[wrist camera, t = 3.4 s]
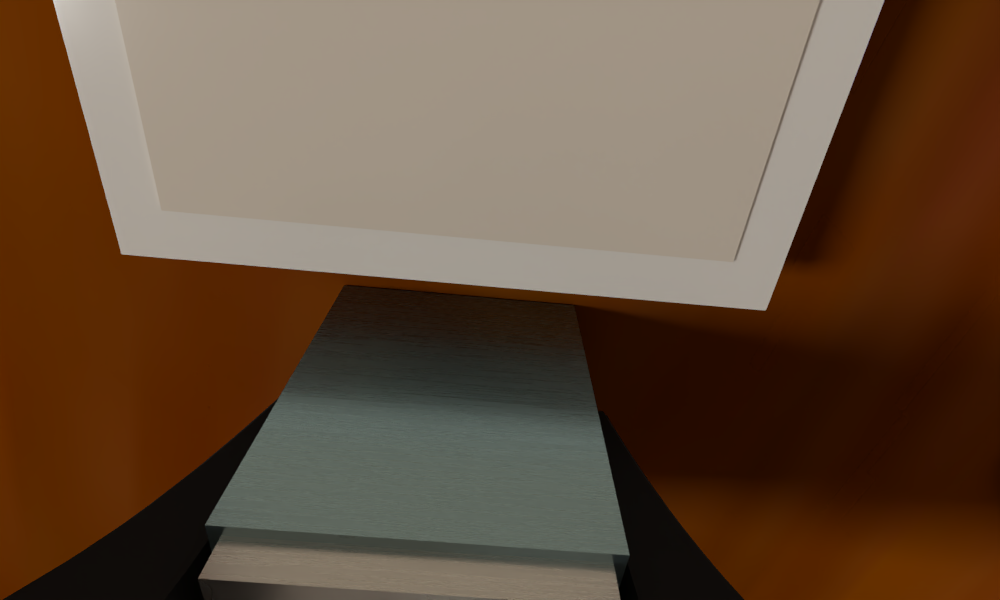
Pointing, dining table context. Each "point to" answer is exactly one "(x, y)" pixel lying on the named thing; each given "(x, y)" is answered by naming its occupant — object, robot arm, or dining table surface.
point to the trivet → (470, 135)
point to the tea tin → (426, 462)
